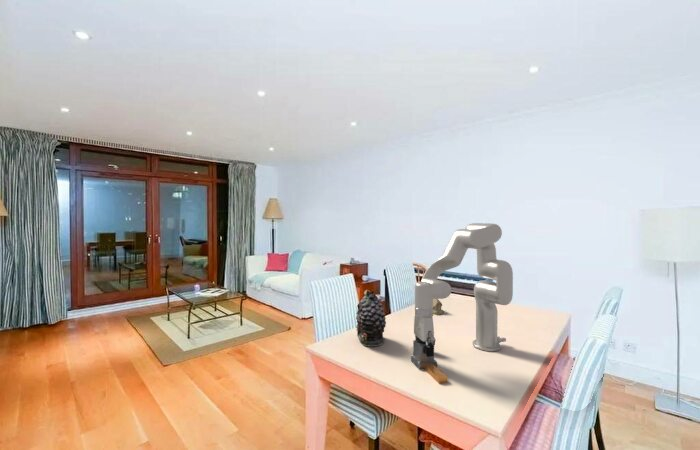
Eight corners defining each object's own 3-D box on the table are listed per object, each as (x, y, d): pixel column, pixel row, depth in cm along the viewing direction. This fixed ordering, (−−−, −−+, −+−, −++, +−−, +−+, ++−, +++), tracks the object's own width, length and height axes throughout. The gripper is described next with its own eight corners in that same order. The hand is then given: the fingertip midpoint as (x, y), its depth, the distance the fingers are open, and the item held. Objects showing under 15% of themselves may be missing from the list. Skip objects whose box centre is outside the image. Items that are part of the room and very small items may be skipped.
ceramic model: (421, 309, 217) (421, 295, 217) (435, 308, 221) (435, 293, 221) (434, 315, 204) (434, 300, 204) (448, 313, 208) (448, 298, 208)
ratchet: (452, 381, 121) (452, 362, 121) (433, 384, 120) (433, 364, 119) (427, 359, 141) (427, 342, 141) (411, 361, 139) (411, 344, 139)
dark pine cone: (351, 334, 171) (350, 288, 171) (377, 332, 175) (377, 286, 174) (362, 350, 151) (361, 297, 151) (392, 346, 155) (391, 295, 154)
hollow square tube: (426, 354, 140) (426, 338, 140) (434, 361, 134) (434, 344, 134) (413, 356, 138) (413, 340, 138) (420, 362, 132) (419, 345, 132)
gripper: (407, 306, 143) (407, 344, 144) (425, 318, 126) (425, 361, 127) (422, 305, 145) (423, 342, 145) (442, 316, 128) (443, 359, 129)
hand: (424, 351), depth 136 cm, fingers open, 9 cm apart
